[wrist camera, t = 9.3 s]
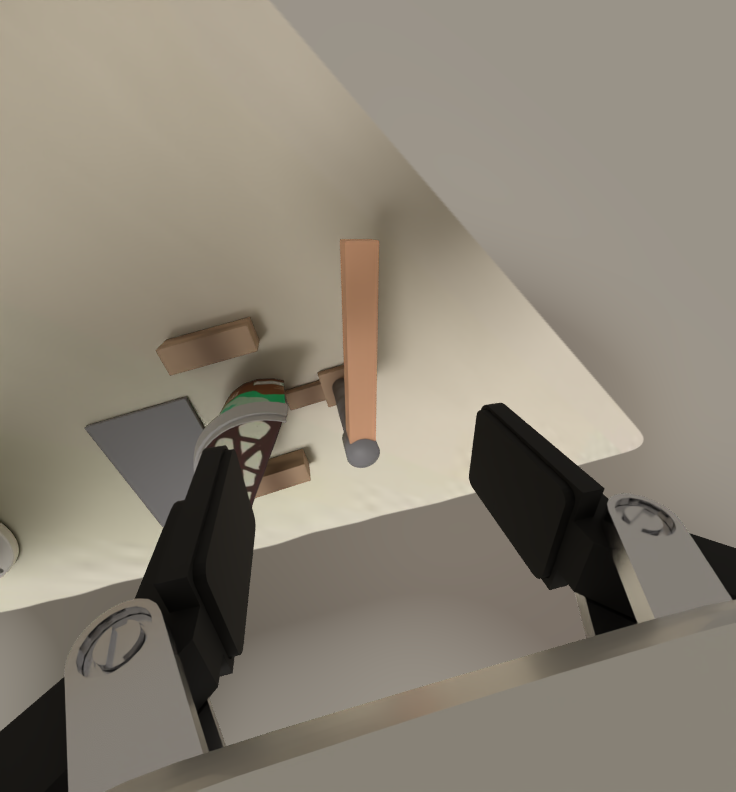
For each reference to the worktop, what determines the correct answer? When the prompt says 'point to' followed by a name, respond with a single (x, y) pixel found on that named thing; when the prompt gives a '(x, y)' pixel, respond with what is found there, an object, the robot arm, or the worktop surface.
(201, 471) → the robot arm
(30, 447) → the worktop surface
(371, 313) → the tall wooden post
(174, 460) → the mat
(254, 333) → the wooden blocks
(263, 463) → the food container
